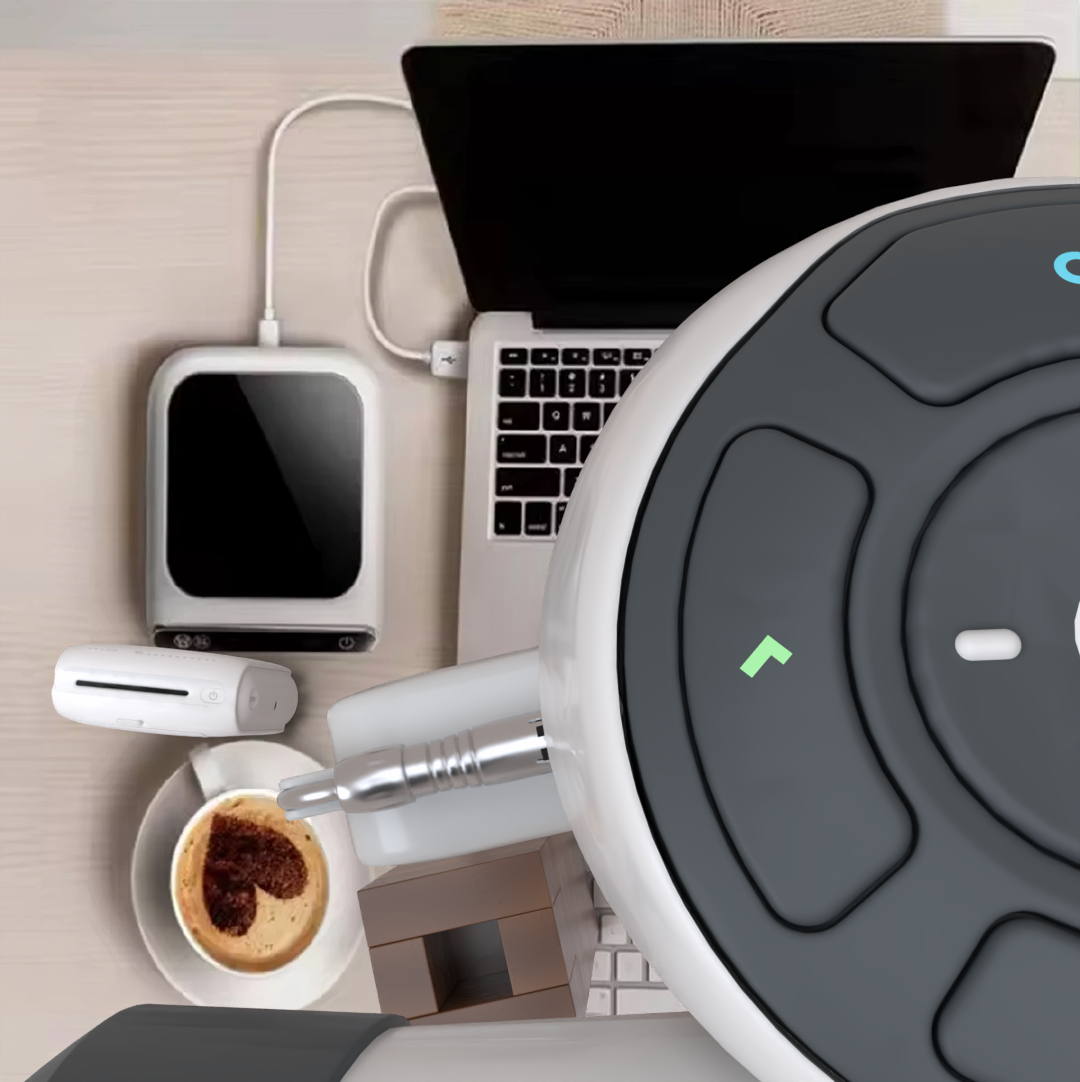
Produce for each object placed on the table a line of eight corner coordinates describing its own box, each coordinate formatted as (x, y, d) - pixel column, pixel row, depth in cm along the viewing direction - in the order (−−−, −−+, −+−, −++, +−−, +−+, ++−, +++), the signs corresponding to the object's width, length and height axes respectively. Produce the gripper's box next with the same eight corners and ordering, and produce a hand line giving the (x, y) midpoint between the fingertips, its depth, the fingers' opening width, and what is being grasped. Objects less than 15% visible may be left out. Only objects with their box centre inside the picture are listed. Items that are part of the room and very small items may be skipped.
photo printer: (305, 663, 79) (245, 653, 67) (296, 739, 79) (234, 744, 67) (129, 646, 80) (38, 633, 68) (119, 721, 80) (26, 722, 67)
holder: (599, 931, 76) (582, 1042, 51) (474, 958, 77) (395, 1083, 51) (570, 804, 77) (539, 850, 52) (448, 831, 78) (356, 891, 52)
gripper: (286, 987, 25) (409, 884, 38) (1443, 726, 24) (1146, 717, 38) (217, 637, 25) (361, 659, 39) (1334, 374, 25) (1082, 491, 38)
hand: (752, 686), depth 38 cm, fingers closed
